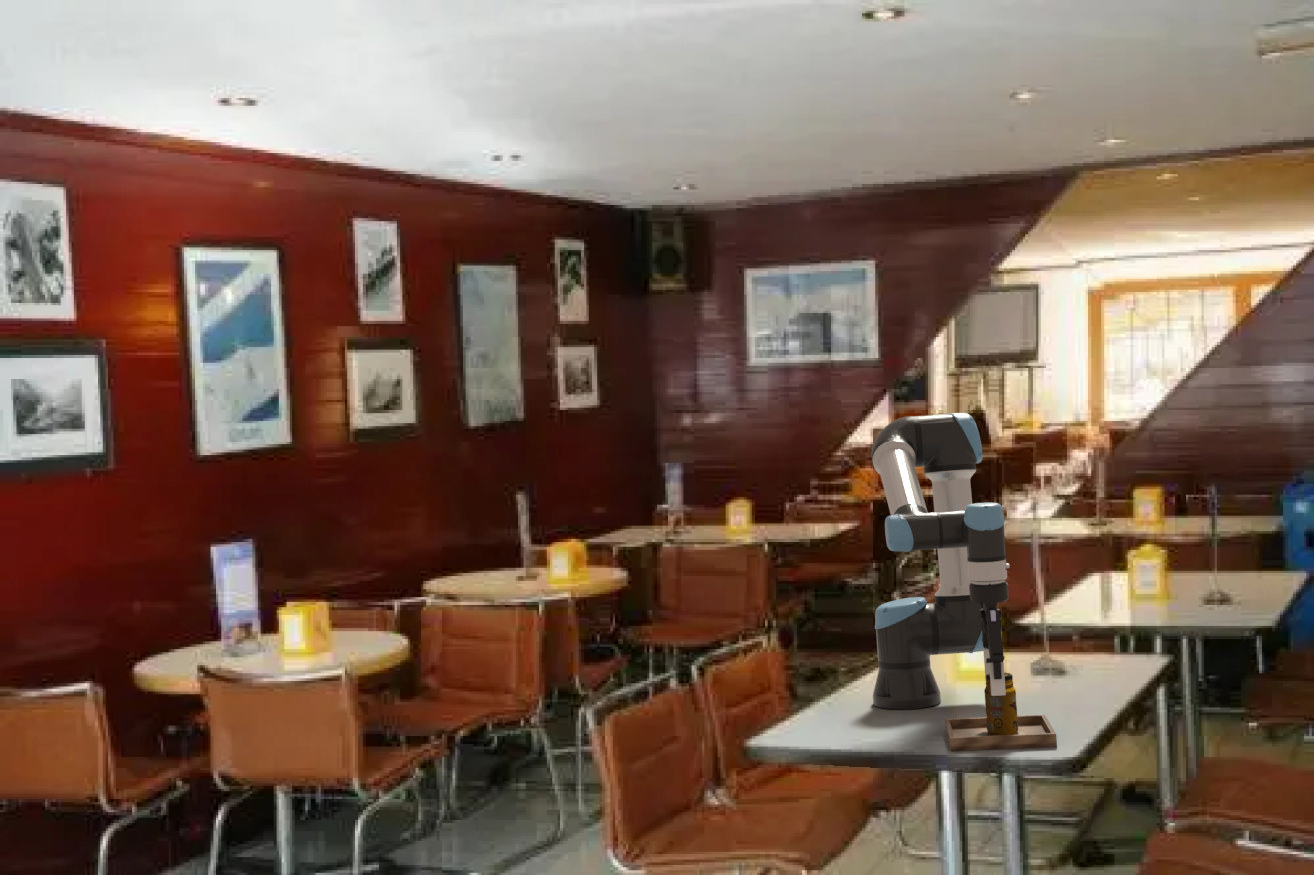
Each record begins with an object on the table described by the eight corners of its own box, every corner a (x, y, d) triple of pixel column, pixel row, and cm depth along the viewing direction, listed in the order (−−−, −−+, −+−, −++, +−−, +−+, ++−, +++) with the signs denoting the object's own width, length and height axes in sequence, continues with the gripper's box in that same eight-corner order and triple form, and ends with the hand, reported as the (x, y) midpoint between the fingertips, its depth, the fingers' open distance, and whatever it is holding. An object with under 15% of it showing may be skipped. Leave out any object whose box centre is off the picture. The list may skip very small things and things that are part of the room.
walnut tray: (950, 751, 287) (949, 738, 287) (945, 731, 305) (944, 719, 305) (1057, 746, 285) (1056, 733, 284) (1045, 726, 302) (1044, 714, 302)
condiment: (1028, 733, 294) (1023, 673, 294) (998, 741, 289) (994, 680, 289) (999, 729, 300) (995, 669, 300) (970, 736, 295) (966, 676, 295)
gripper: (1014, 589, 282) (1021, 700, 282) (1001, 571, 306) (1008, 674, 307) (973, 591, 283) (981, 702, 283) (964, 574, 307) (971, 675, 308)
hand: (995, 688), depth 295 cm, fingers open, 13 cm apart
